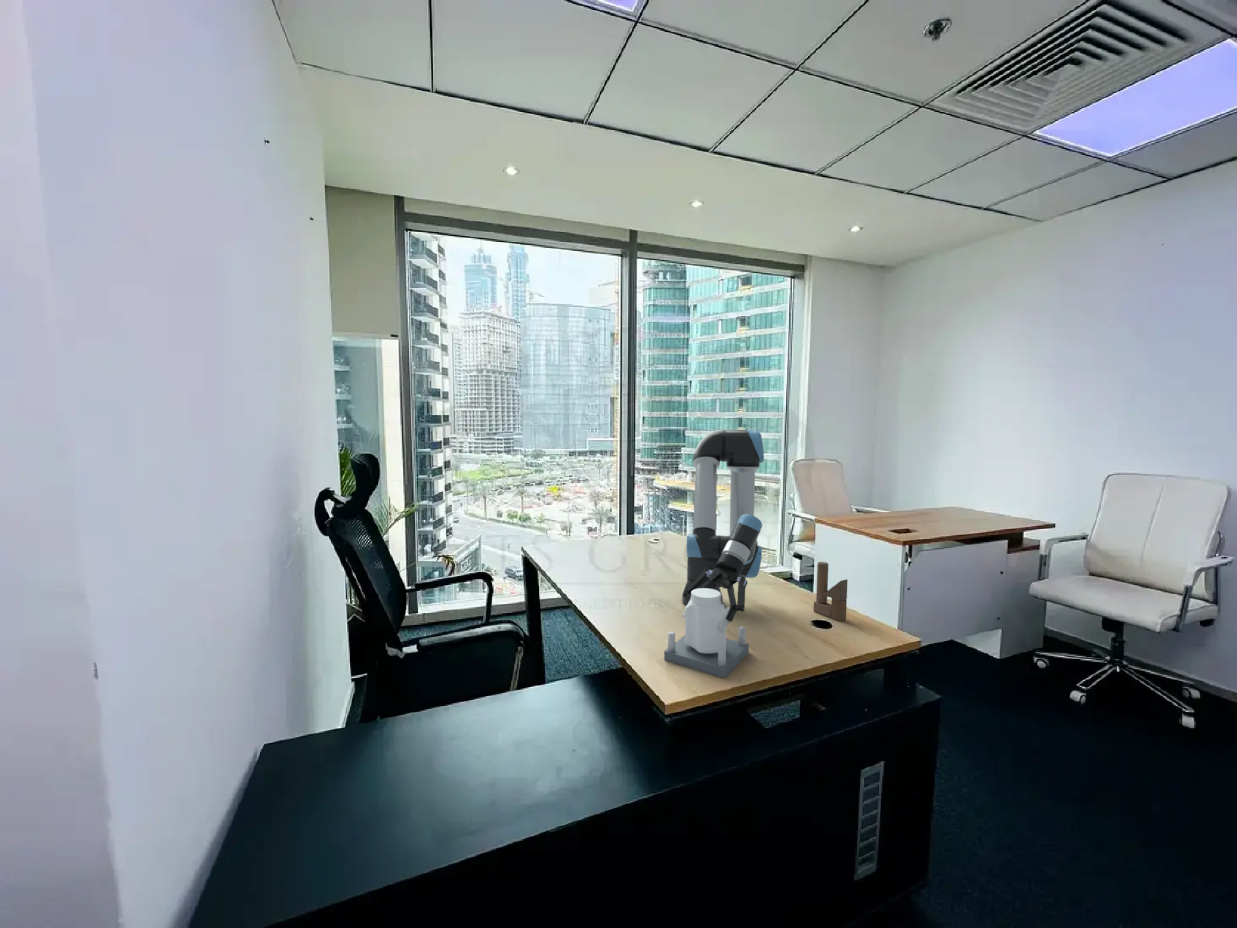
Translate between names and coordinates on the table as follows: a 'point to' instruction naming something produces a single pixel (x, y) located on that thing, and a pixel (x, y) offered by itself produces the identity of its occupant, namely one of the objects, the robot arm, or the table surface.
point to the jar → (704, 621)
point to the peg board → (708, 655)
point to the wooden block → (830, 595)
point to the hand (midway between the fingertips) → (702, 623)
